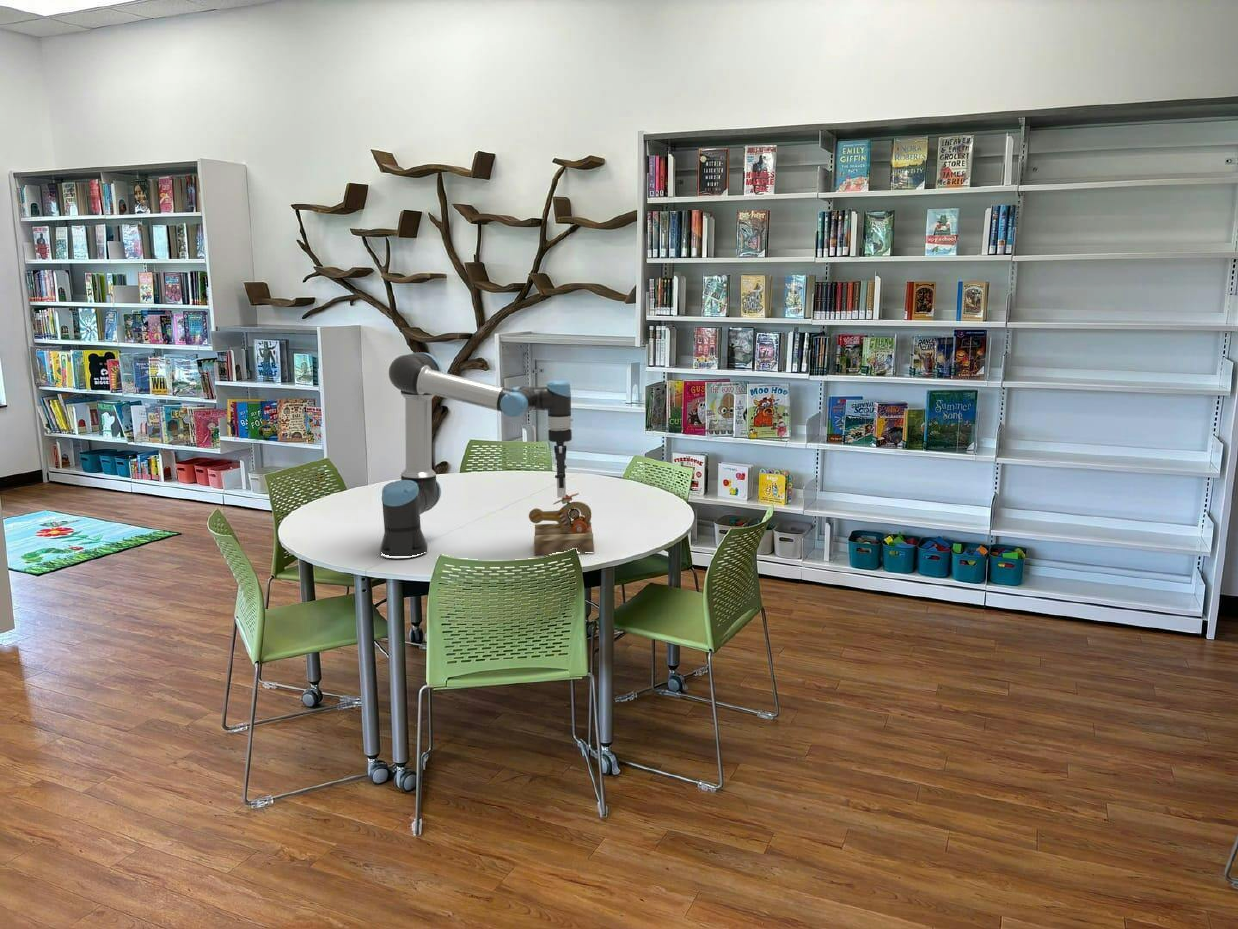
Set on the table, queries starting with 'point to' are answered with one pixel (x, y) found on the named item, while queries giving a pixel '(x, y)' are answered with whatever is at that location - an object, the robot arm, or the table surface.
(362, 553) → the table surface
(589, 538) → the display stand
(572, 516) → the toy helicopter
